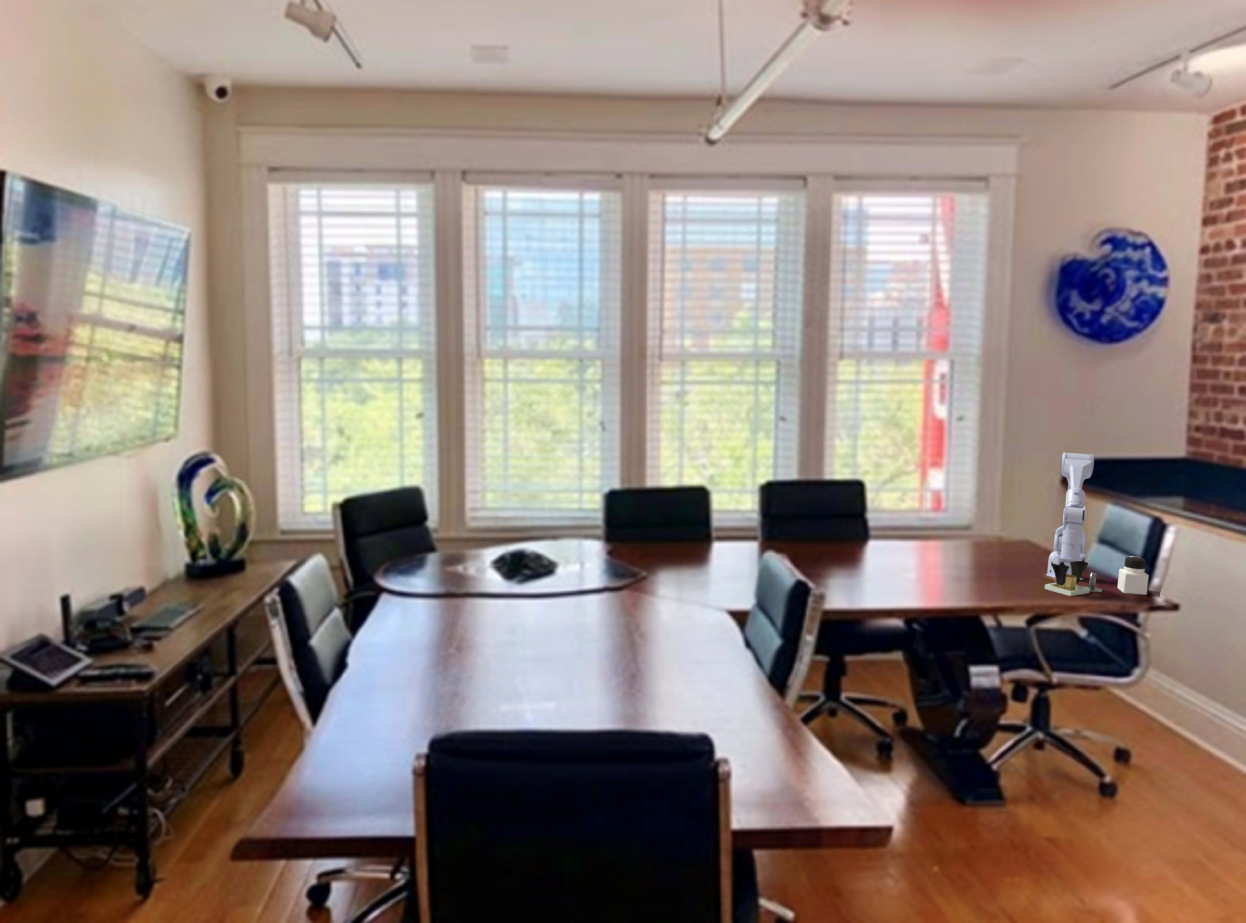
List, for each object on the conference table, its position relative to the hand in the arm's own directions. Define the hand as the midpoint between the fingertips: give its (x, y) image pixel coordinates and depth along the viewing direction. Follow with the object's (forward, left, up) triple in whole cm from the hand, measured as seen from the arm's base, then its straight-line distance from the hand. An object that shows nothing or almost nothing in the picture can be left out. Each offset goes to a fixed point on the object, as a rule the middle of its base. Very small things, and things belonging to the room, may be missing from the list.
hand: (1067, 583), depth 317 cm
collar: (0, 0, -2) cm, 2 cm away
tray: (0, 0, -3) cm, 3 cm away
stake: (+2, +10, -3) cm, 11 cm away
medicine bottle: (+9, +21, -3) cm, 23 cm away
